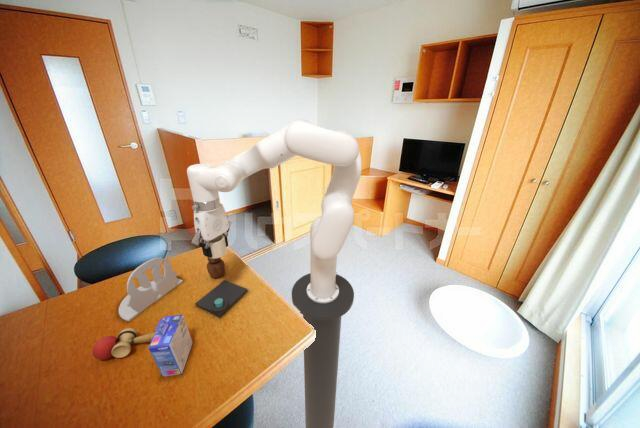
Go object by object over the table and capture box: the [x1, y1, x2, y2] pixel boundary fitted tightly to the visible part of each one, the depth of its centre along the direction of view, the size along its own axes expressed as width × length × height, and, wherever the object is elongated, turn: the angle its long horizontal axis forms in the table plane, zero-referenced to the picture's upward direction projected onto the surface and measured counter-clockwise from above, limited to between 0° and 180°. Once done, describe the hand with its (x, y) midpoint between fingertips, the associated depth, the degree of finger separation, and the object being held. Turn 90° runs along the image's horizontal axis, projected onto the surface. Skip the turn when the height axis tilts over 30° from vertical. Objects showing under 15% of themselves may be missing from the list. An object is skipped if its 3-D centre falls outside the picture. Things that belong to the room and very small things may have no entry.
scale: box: [195, 279, 249, 318], centre depth 89 cm, size 14×12×3 cm
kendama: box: [91, 327, 157, 361], centre depth 71 cm, size 8×6×18 cm
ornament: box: [117, 257, 184, 322], centre depth 88 cm, size 22×13×17 cm, turn 159°
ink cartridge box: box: [148, 314, 194, 377], centre depth 66 cm, size 10×6×14 cm, turn 10°
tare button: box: [214, 298, 224, 308], centre depth 83 cm, size 3×3×2 cm
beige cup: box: [204, 234, 228, 259], centre depth 82 cm, size 7×7×6 cm
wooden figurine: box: [206, 257, 226, 279], centre depth 99 cm, size 7×6×15 cm
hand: (216, 250), depth 83 cm, fingers closed on beige cup, 6 cm apart
